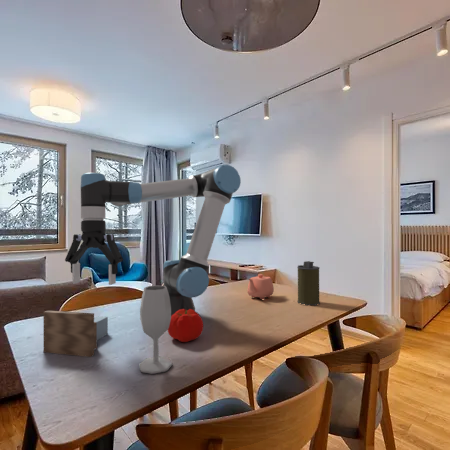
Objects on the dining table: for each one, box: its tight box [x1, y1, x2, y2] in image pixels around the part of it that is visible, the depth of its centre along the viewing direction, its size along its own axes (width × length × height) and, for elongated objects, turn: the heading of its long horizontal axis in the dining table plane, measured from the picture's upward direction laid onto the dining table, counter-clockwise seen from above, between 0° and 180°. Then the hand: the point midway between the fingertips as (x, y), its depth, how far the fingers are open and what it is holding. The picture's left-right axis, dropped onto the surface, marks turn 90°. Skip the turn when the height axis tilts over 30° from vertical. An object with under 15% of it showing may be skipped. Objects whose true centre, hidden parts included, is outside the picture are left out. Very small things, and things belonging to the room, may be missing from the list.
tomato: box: [167, 309, 204, 343], centre depth 97 cm, size 11×12×9 cm
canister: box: [297, 260, 321, 306], centre depth 141 cm, size 11×10×20 cm
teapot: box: [246, 273, 275, 300], centre depth 152 cm, size 20×12×12 cm, turn 140°
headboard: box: [42, 310, 98, 358], centre depth 88 cm, size 16×6×12 cm, turn 78°
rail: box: [94, 315, 109, 341], centre depth 95 cm, size 4×15×6 cm, turn 168°
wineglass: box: [138, 284, 173, 375], centre depth 77 cm, size 9×9×21 cm
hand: (94, 283), depth 97 cm, fingers open, 13 cm apart
